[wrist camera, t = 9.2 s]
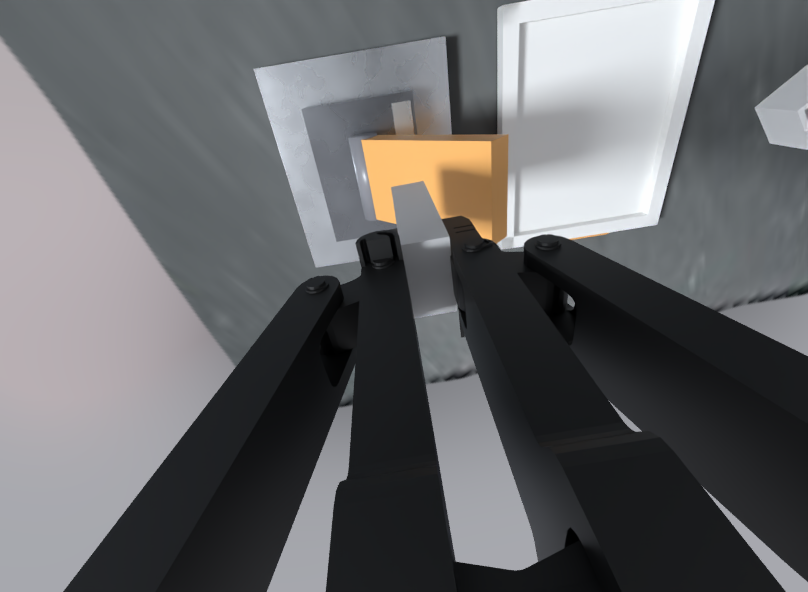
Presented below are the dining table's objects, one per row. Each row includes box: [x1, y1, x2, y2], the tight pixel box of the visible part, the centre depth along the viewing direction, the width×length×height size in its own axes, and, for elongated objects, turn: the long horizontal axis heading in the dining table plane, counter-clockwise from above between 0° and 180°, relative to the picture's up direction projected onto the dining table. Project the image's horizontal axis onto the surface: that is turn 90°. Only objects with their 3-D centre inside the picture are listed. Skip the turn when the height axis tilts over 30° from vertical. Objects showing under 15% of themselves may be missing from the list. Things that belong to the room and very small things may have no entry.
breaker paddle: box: [348, 133, 509, 244], centre depth 20 cm, size 5×2×11 cm
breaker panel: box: [254, 36, 452, 267], centre depth 25 cm, size 14×12×2 cm
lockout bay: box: [497, 0, 715, 250], centre depth 25 cm, size 16×13×1 cm
